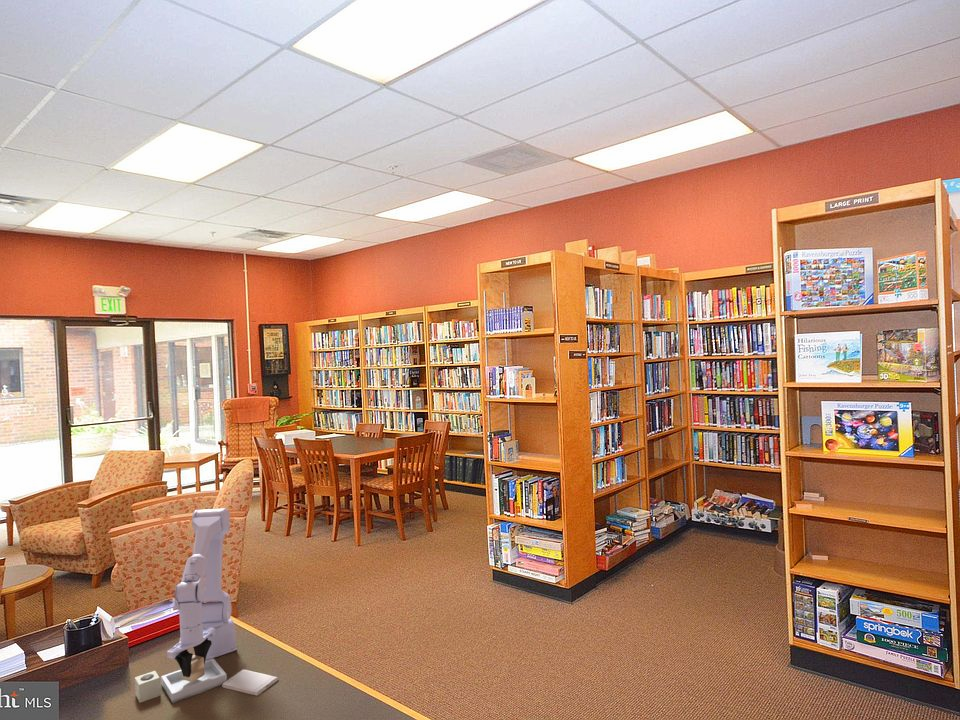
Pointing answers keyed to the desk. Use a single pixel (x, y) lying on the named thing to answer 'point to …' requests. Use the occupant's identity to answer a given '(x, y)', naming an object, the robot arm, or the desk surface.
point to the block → (195, 669)
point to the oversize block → (147, 686)
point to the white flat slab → (249, 682)
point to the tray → (185, 689)
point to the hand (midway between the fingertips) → (193, 671)
